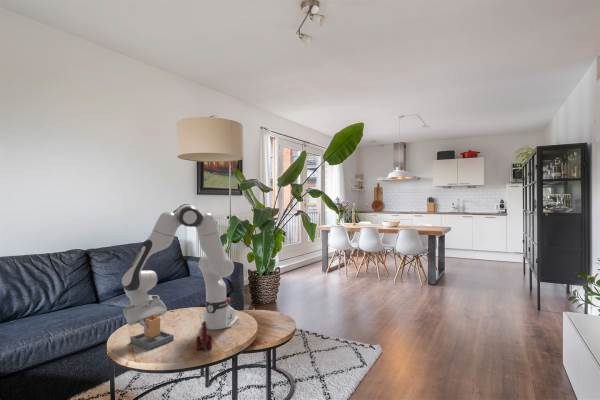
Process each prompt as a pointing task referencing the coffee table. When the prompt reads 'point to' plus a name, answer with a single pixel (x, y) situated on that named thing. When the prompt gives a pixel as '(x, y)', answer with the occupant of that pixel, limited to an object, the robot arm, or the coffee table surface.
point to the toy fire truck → (204, 339)
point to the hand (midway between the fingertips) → (152, 326)
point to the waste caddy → (152, 327)
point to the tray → (152, 340)
